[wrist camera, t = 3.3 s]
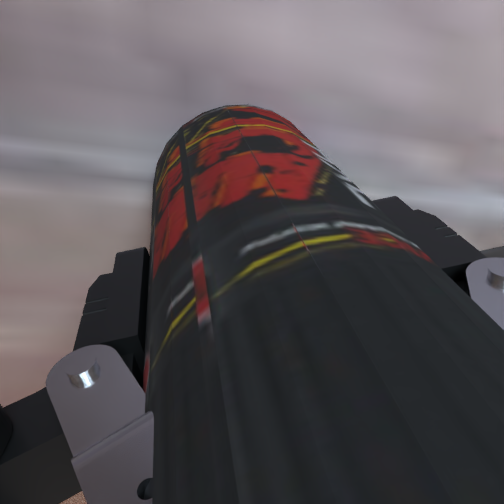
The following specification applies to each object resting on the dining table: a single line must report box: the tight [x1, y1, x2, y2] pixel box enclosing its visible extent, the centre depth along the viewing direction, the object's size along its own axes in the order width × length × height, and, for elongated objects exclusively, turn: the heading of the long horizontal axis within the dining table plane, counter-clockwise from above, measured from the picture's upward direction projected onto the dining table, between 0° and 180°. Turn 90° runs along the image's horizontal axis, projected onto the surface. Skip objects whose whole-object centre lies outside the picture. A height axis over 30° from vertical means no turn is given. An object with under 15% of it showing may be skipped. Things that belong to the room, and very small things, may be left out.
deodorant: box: [143, 105, 504, 504], centre depth 9 cm, size 6×6×15 cm
